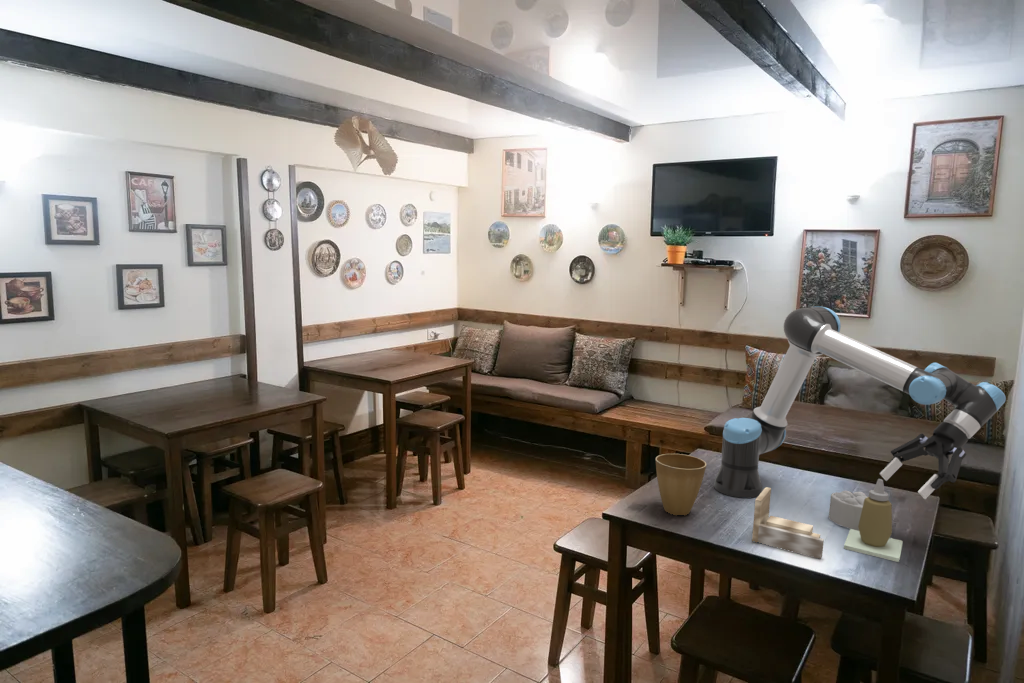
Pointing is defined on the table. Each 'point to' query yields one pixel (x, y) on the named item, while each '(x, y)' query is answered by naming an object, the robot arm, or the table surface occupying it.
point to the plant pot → (679, 481)
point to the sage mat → (874, 547)
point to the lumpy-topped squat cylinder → (846, 508)
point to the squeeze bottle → (876, 517)
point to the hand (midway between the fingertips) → (901, 486)
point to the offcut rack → (784, 530)
